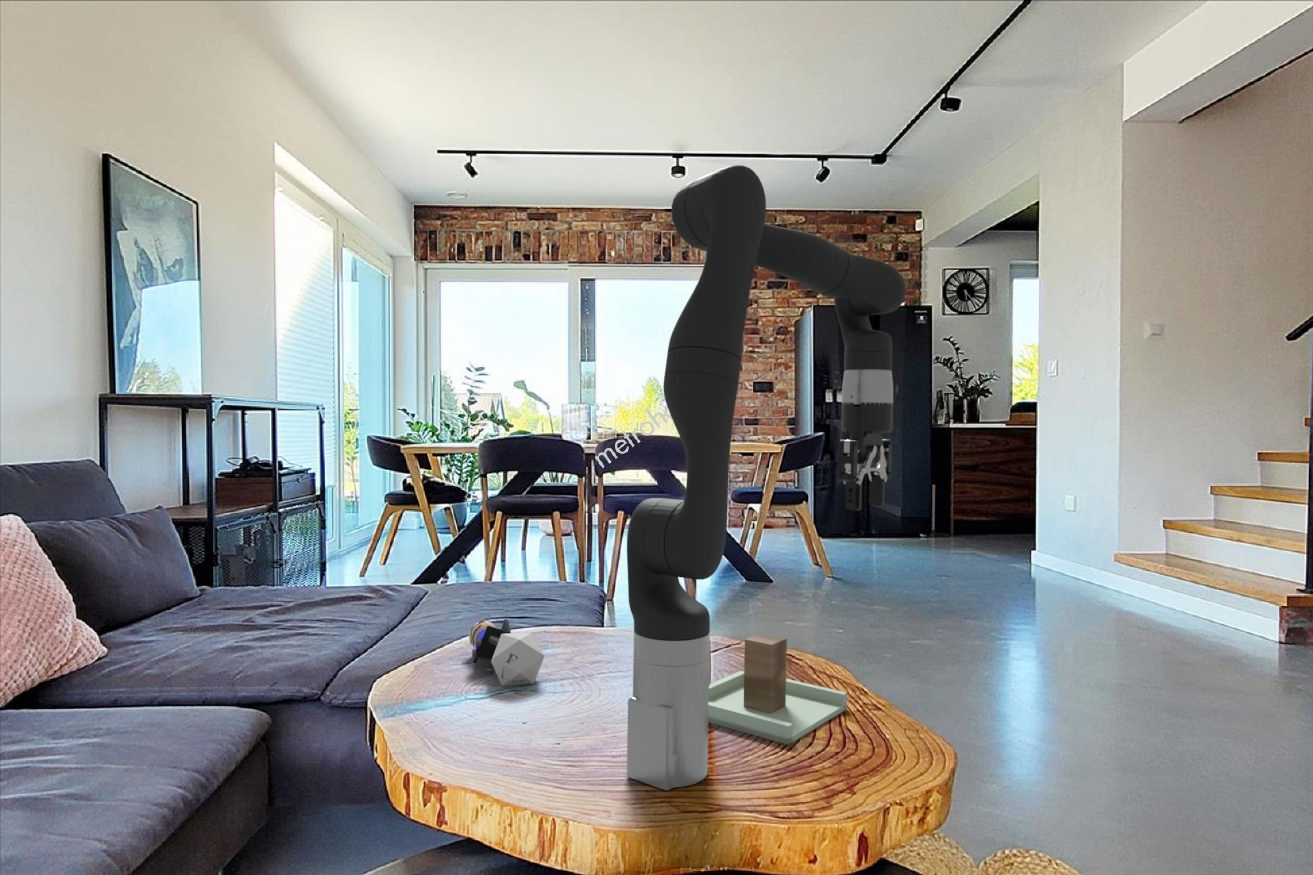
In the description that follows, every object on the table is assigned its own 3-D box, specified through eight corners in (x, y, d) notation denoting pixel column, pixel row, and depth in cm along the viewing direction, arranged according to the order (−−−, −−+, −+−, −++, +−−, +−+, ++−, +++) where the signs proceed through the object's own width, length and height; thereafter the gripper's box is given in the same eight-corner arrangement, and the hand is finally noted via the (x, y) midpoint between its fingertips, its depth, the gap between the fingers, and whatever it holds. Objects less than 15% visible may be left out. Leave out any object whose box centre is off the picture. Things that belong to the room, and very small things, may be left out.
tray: (788, 744, 110) (788, 726, 110) (679, 714, 121) (679, 697, 121) (846, 709, 124) (847, 692, 124) (744, 684, 135) (744, 669, 135)
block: (770, 713, 119) (771, 644, 119) (743, 706, 122) (744, 639, 122) (785, 705, 123) (786, 638, 123) (759, 699, 125) (760, 633, 125)
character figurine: (469, 680, 136) (470, 655, 151) (514, 674, 138) (511, 650, 152) (466, 633, 136) (467, 612, 151) (511, 628, 138) (508, 608, 152)
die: (479, 684, 135) (482, 647, 129) (508, 647, 142) (512, 611, 136) (522, 707, 133) (527, 670, 127) (550, 669, 140) (555, 632, 134)
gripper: (863, 402, 133) (861, 503, 133) (823, 399, 122) (821, 509, 122) (908, 402, 128) (906, 506, 129) (871, 399, 117) (869, 513, 117)
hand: (865, 507), depth 125 cm, fingers open, 8 cm apart
